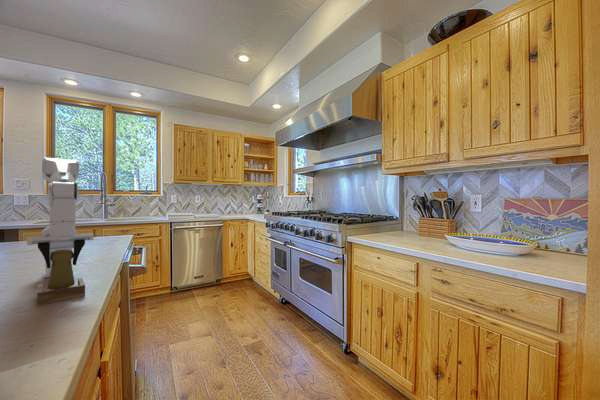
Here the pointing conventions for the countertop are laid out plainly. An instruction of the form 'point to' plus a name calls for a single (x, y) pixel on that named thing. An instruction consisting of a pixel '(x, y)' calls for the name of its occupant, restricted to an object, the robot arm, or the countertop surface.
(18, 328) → the countertop surface
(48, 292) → the spice rack
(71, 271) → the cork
